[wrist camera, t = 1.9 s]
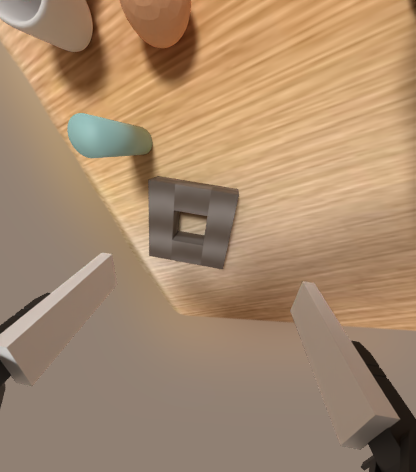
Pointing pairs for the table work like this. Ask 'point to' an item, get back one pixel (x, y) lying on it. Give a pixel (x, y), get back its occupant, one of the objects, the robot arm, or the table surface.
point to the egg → (158, 20)
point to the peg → (107, 137)
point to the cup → (51, 21)
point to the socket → (197, 202)
